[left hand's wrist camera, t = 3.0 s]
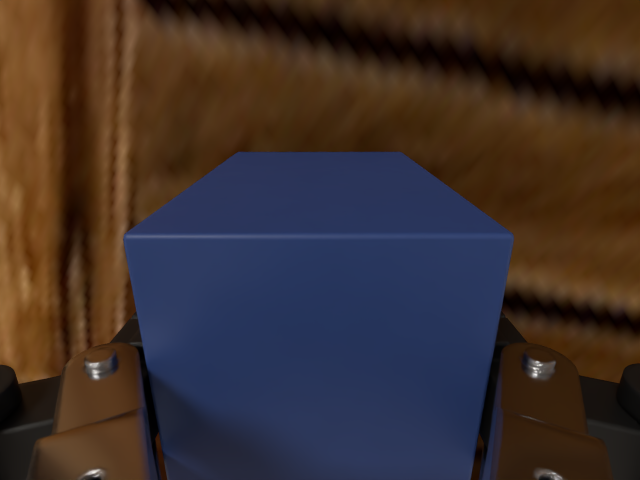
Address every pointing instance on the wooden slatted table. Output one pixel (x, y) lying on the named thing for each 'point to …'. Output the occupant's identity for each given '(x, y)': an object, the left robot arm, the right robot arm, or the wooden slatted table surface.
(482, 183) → the wooden slatted table surface
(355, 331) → the box
